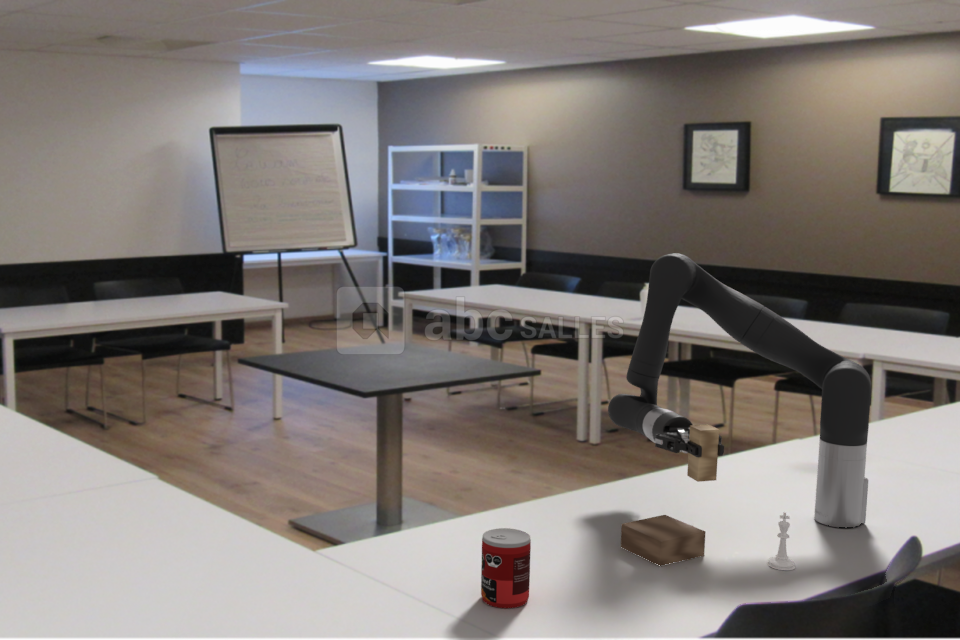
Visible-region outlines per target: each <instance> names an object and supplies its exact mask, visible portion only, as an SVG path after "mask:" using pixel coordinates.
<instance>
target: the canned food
mask: <svg viewBox="0 0 960 640" xmlns="http://www.w3.org/2000/svg"><path fill="white" fill-rule="evenodd" d="M531 540H532V539H531V535H530V534H529V533H528V532H526V531H523V530H520V529H516V528H511V527H509V528H507V527H505V528H503V527H501V528H493V529H489V530H486V531H485V532H484V533H482V538H481V566H480V567H481V575H480V576H481V577H480V579H481V582H480V589H481V590H480V596H481V599H482V601H483V603H484V604H486V605H488V606H491V607H493V608H497V609H515V608H516V609H517V608H520V607H523V606H524V605H526V603H528V601H529V597H530V583H531V582H530V575H531V546H532V545H531V543H532V542H531Z"/></svg>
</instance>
